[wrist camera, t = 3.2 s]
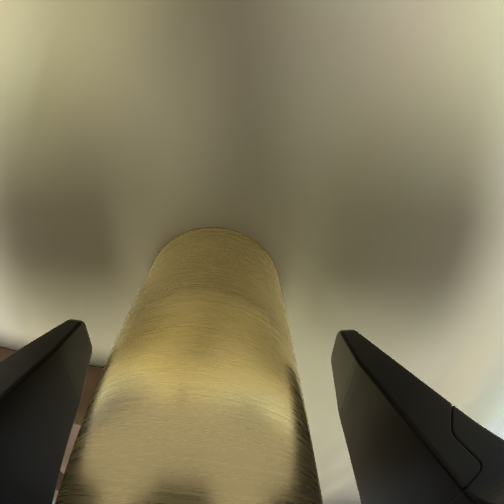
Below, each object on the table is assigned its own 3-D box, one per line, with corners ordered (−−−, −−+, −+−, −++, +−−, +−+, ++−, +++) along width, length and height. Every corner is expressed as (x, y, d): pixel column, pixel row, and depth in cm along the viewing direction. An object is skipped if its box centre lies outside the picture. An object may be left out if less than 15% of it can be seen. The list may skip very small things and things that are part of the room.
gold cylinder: (284, 229, 9) (395, 619, 1) (273, 339, 11) (307, 615, 3) (144, 226, 9) (-30, 560, 1) (157, 335, 11) (98, 599, 2)
